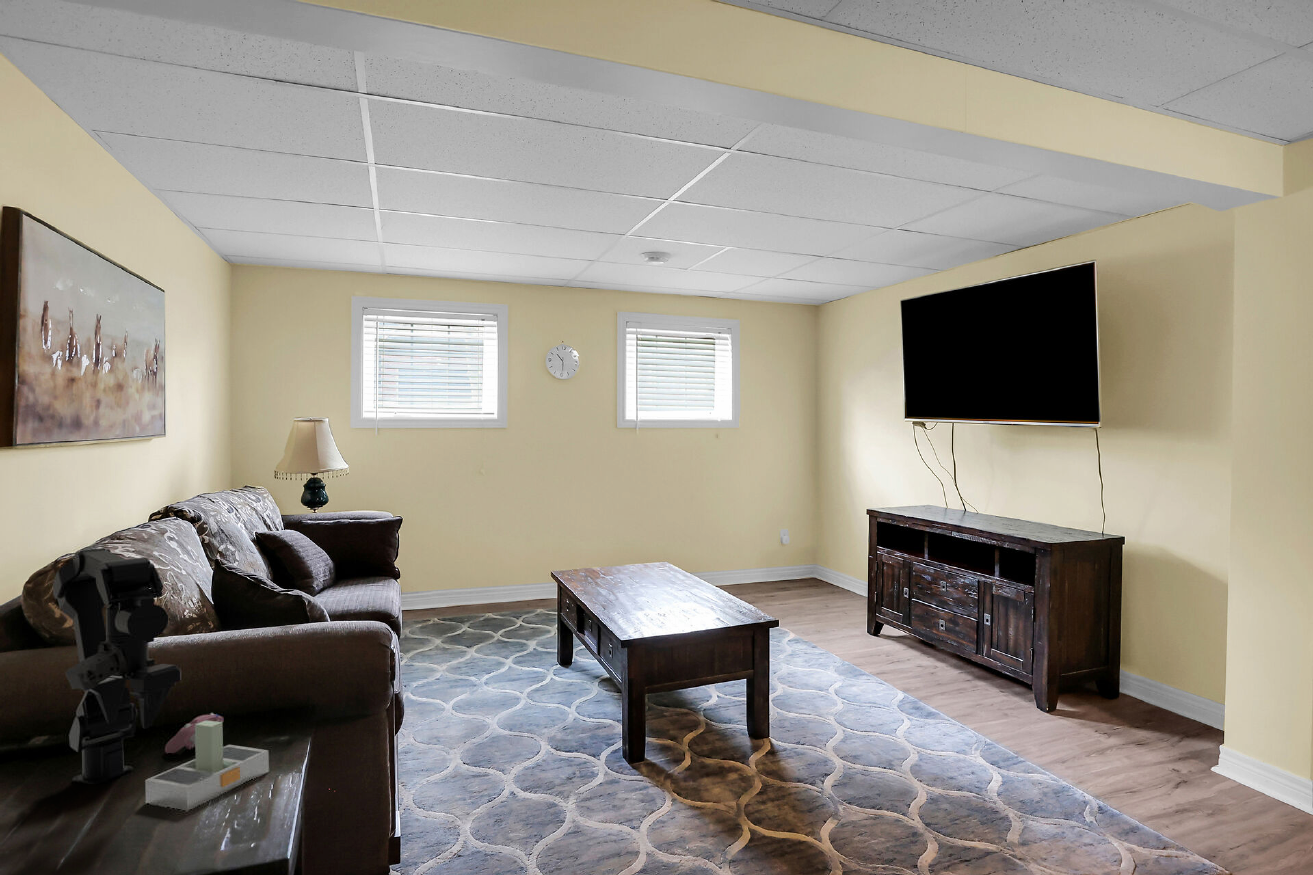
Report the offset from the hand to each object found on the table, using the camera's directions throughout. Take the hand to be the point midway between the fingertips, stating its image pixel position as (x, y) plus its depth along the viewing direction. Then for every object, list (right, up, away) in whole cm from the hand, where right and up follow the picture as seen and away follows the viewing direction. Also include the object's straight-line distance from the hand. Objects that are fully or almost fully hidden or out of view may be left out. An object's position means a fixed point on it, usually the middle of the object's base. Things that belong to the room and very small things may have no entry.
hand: (128, 724), depth 120 cm
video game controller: (-3, -13, +21) cm, 25 cm away
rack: (+13, -12, +2) cm, 17 cm away
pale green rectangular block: (+13, -11, +2) cm, 17 cm away
